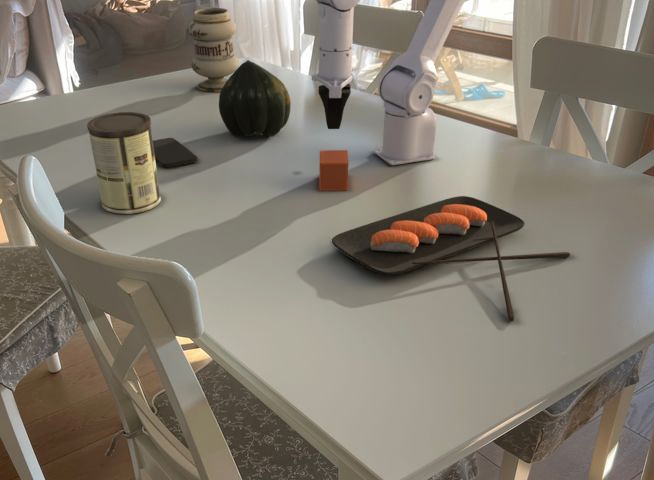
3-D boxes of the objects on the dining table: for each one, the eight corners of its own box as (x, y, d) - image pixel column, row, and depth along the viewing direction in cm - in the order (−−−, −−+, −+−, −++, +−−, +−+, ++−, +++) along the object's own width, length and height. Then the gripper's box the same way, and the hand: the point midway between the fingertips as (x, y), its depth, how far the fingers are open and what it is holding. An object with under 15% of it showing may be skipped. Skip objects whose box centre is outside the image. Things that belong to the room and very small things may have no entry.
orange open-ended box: (347, 190, 125) (348, 163, 122) (319, 190, 126) (319, 163, 123) (346, 176, 131) (347, 150, 128) (319, 176, 131) (319, 150, 128)
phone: (172, 136, 149) (199, 157, 138) (173, 140, 150) (199, 161, 138) (138, 143, 146) (163, 164, 135) (139, 147, 147) (163, 169, 136)
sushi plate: (463, 203, 120) (466, 181, 117) (619, 274, 99) (626, 249, 96) (322, 249, 107) (323, 226, 105) (467, 341, 86) (472, 315, 84)
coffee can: (119, 188, 129) (107, 109, 121) (170, 194, 126) (161, 114, 118) (89, 210, 121) (74, 128, 113) (143, 217, 118) (131, 133, 110)
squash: (272, 124, 140) (284, 52, 141) (202, 121, 144) (214, 51, 145) (290, 152, 153) (301, 87, 154) (226, 150, 157) (237, 85, 159)
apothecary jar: (188, 92, 179) (180, 15, 169) (199, 80, 189) (193, 6, 179) (234, 93, 177) (230, 15, 167) (244, 81, 187) (240, 6, 177)
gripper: (312, 39, 127) (312, 115, 135) (311, 58, 115) (310, 141, 123) (352, 38, 126) (349, 115, 134) (355, 58, 115) (351, 141, 122)
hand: (333, 127), depth 128 cm, fingers closed
